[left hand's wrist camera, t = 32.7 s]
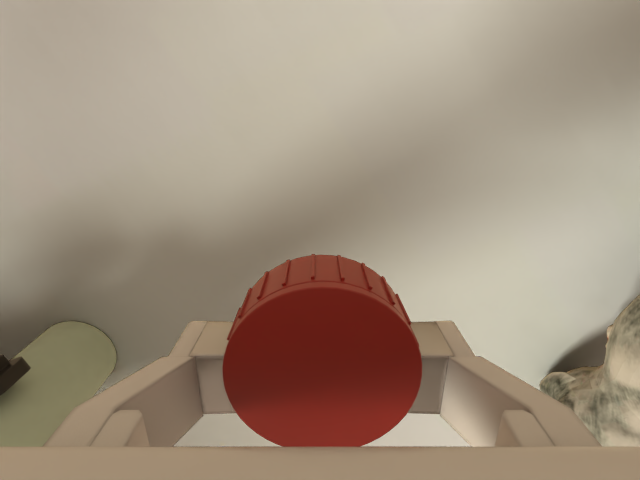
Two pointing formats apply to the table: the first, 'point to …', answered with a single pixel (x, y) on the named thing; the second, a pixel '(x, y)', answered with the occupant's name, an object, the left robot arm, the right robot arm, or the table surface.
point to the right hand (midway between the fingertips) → (47, 417)
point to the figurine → (607, 385)
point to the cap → (322, 355)
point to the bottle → (54, 382)
